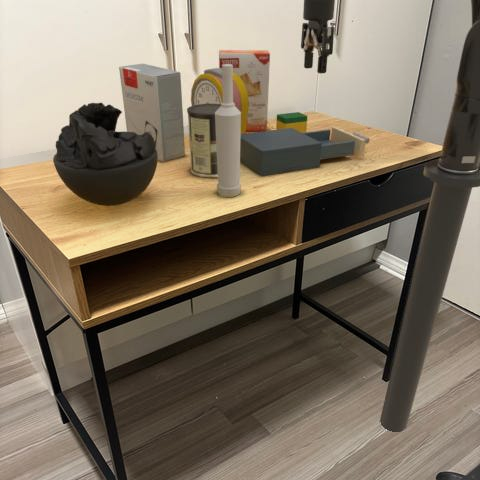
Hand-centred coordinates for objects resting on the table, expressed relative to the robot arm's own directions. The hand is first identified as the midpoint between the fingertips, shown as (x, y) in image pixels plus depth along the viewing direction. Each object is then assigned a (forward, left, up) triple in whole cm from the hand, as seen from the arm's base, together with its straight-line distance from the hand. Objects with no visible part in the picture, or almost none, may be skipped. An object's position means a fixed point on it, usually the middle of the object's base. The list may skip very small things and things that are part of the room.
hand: (314, 70), depth 133 cm
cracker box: (+13, -17, -18) cm, 28 cm away
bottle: (+37, +28, -18) cm, 50 cm away
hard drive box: (+43, -6, -18) cm, 47 cm away
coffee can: (+35, +13, -18) cm, 41 cm away
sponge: (+4, -4, -18) cm, 18 cm away
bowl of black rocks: (+61, +23, -18) cm, 67 cm away
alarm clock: (+24, -9, -18) cm, 31 cm away
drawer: (+2, +14, -17) cm, 22 cm away
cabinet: (+18, +14, -18) cm, 29 cm away
